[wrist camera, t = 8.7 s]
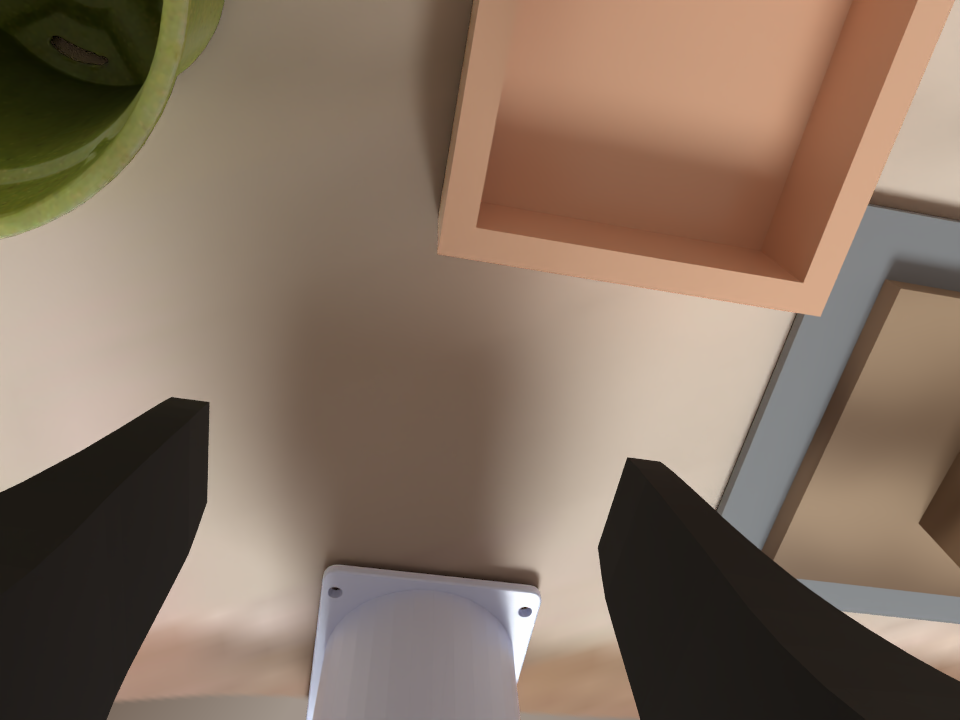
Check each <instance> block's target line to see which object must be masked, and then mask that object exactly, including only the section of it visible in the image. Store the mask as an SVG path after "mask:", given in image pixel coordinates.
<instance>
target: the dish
mask: <svg viewBox="0 0 960 720" xmlns="http://www.w3.org/2000/svg"><path fill="white" fill-rule="evenodd" d="M954 1H955V0H473V4H472V10H471V16H470V22H469V28H468V35H467V41H466V47H465V53H464V59H463V65H462V72H461V78H460V84H459V90H458V96H457V102H456V109H455V115H454V121H453V127H452V133H451V139H450V146H449V152H448V158H447V164H446V170H445V176H444V183H443V189H442V195H441V201H440V207H439V213H438V246H437V254H439V255H445V256H451V257H457V258H463V259H470V260H476V261H482V262H488V263H494V264H500V265H506V266H512V267H519V268H525V269H531V270H537V271H543V272H549V273H555V274H561V275H568V276H574V277H580V278H586V279H592V280H598V281H604V282H610V283H617V284H623V285H629V286H635V287H641V288H647V289H653V290H659V291H666V292H672V293H678V294H684V295H690V296H696V297H702V298H708V299H715V300H721V301H727V302H733V303H739V304H745V305H751V306H757V307H764V308H770V309H776V310H782V311H788V312H794V313H800V314H806V315H813V316H819V317H821V314H822V312H823V309H824V307H825V305H826V302H827V300H828V298H829V295H830V293H831V291H832V288H833V286H834V284H835V281H836V279H837V277H838V274H839V272H840V269H841V267H842V265H843V262H844V260H845V258H846V255H847V253H848V251H849V248H850V246H851V244H852V241H853V239H854V237H855V234H856V232H857V229H858V227H859V225H860V222H861V220H862V218H863V215H864V213H865V211H866V208H867V206H868V204H869V201H870V199H871V196H872V194H873V192H874V189H875V187H876V185H877V182H878V180H879V178H880V175H881V173H882V171H883V168H884V166H885V164H886V161H887V159H888V156H889V154H890V152H891V149H892V147H893V145H894V142H895V140H896V138H897V135H898V133H899V131H900V128H901V126H902V124H903V121H904V119H905V116H906V114H907V112H908V109H909V107H910V105H911V102H912V100H913V98H914V95H915V93H916V91H917V88H918V86H919V84H920V81H921V79H922V76H923V74H924V72H925V69H926V67H927V65H928V62H929V60H930V58H931V55H932V53H933V51H934V48H935V46H936V43H937V41H938V39H939V36H940V34H941V32H942V29H943V27H944V25H945V22H946V20H947V18H948V15H949V13H950V11H951V8H952V6H953V3H954Z"/></svg>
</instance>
